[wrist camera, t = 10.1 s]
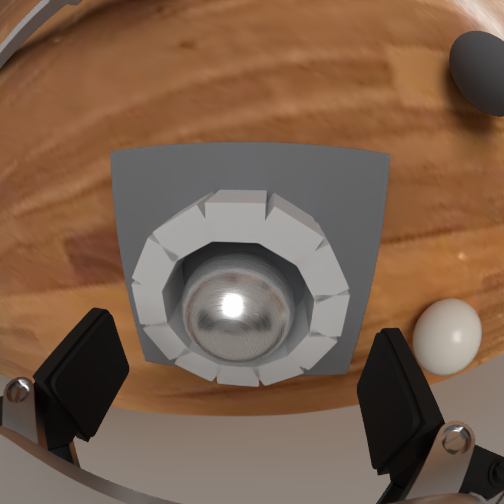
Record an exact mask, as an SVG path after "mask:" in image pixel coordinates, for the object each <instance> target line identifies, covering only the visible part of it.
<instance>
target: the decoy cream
mask: <svg viewBox="0 0 504 504" xmlns="http://www.w3.org/2000/svg"><path fill="white" fill-rule="evenodd" d="M481 338H482V327H481V322H480V319H479V316H478V314H477V312H476V311H475V310H474V308H473V307H472V306H471V305H469V304H468V303H467V302H465V301H463V300H460V299H456V298H447V299H442V300H439V301H437V302H435V303H433V304H432V305H430V306H429V307H428V308H427V309H426V310H425V311H424V312H423V313H422V314H421V316H420V317H419V319H418V321H417V323H416V325H415V328H414V332H413V341H412V343H413V350H414V354H415V357H416V359H417V361H418V362H419V364H420V365H421V366H422V367H423V368H424V369H425V370H427V371H428V372H430V373H432V374H435V375H440V376H446V375H452V374H455V373H457V372H459V371H461V370H462V369H464V368H465V367H466V366H467V365H469V364H470V362H471V361H472V360H473V359H474V357H475V355H476V354H477V352H478V350H479V347H480V344H481Z"/></svg>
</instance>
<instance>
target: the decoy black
mask: <svg viewBox="0 0 504 504" xmlns="http://www.w3.org/2000/svg"><path fill="white" fill-rule="evenodd" d="M449 63H450V70H451V74H452V77H453V79H454V82H455V84H456V86H457V87H458V89H459V91H460V92H461V93H462V95H463V96H464V97H465V98H466V99H467V100H468V101H469V102H470V103H471V104H472V105H473V106H474V107H476V108H477V109H479V110H480V111H482V112H484V113H487V114H489V115H493V116H499V117H501V116H504V41H502V40H501V39H500V38H498V37H496V36H494V35H492V34H490V33H487V32H483V31H470V32H467V33H464V34H462V35H461V36H459V37H458V38H457V39H456V40H455V42H454V44H453V45H452V48H451V51H450V58H449Z"/></svg>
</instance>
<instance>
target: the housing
mask: <svg viewBox="0 0 504 504" xmlns="http://www.w3.org/2000/svg"><path fill="white" fill-rule="evenodd" d="M110 156H111V175H112V189H113V200H114V210H115V219H116V227H117V234H118V241H119V247H120V254H121V260H122V265H123V271H124V276H125V281H126V286H127V291H128V295H129V300H130V304H131V308H132V313H133V317H134V321H135V325H136V328H137V332H138V336H139V339H140V343H141V347H142V350H143V353H144V357H145V360H146V361H148V362H153V363H159V364H165V365H171V366H178V367H182V368H184V369H186V370H188V371H190V372H192V373H194V374H196V375H198V376H200V377H202V378H204V379H206V380H209V381H211V382H212V381H213V380H214V378H215V377H216V376H217V383H218V384H228V385H240V386H256V387H259V379H260V381H261V382H262V383H263V384H264V385H265V386H266V385H270V384H273V383H276V382H279V381H282V380H285V379H288V378H291V377H294V376H297V375H340V374H347V371H348V368H349V365H350V362H351V359H352V356H353V353H354V349H355V346H356V343H357V340H358V336H359V333H360V329H361V325H362V322H363V318H364V314H365V310H366V306H367V302H368V298H369V294H370V290H371V285H372V281H373V276H374V271H375V266H376V261H377V256H378V250H379V245H380V239H381V233H382V226H383V219H384V212H385V204H386V195H387V186H388V175H389V162H390V154H387V153H380V152H374V151H367V150H359V149H351V148H342V147H332V146H322V145H309V144H293V143H270V142H212V143H189V144H173V145H161V146H150V147H140V148H132V149H124V150H116V151H110ZM230 251H246V252H251V253H255V254H257V255H260V256H262V257H264V258H266V259H268V260H269V261H271V262H272V263H273V264H275V265H276V266H277V267H278V268H279V269H280V270H281V271H282V273H283V274H284V275H285V277H286V278H287V280H288V282H289V284H290V286H291V288H292V292H293V296H294V302H295V313H294V319H293V323H292V326H291V329H290V331H289V333H288V335H287V337H286V338H285V340H284V341H283V342H282V344H281V345H280V346H279V347H278V348H277V349H276V350H275V351H273V352H272V353H271V354H269V355H267V356H266V357H264V358H262V359H259V360H257V361H253V362H249V363H242V364H235V363H227V362H223V361H220V360H217V359H215V358H212V357H211V356H209V355H207V354H206V353H204V352H203V351H202V350H201V349H200V348H198V347H197V346H196V344H195V343H194V342H193V341H192V340H191V338H190V336H189V335H188V333H187V331H186V329H185V326H184V323H183V319H182V314H181V300H182V295H183V291H184V288H185V285H186V283H187V281H188V279H189V278H190V276H191V275H192V273H193V272H194V271H195V270H196V269H197V268H198V266H200V265H201V264H202V263H203V262H205V261H206V260H208V259H209V258H211V257H213V256H215V255H218V254H221V253H225V252H230Z"/></svg>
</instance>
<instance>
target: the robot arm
mask: <svg viewBox="0 0 504 504" xmlns="http://www.w3.org/2000/svg"><path fill="white" fill-rule="evenodd" d="M128 373H129V364H128V361H127V359H126V356H125V353H124V350H123V347H122V344H121V341H120V338H119V335H118V332H117V329H116V326H115V322H114V319H113V316H112V315H111V314H110V313H109V311H108V310H106V309H100V308H92V309H91V310H90V311H89V312H88V313H87V314H86V315H85V316H84V318H83V319H82V320H81V321H80V322H79V323H78V324H77V325H76V326H75V327H74V328H73V329H72V331H71V332H70V333H69V334H68V335H67V336H66V337H65V338H64V340H63V341H62V342H61V343H60V344H59V345H58V346H57V348H56V349H55V350H54V351H53V352H52V353H51V355H50V356H49V357H48V358H47V359H46V360H45V362H44V363H43V364H42V365H41V366H40V368H39V369H38V370H37V371H36V373H35V374H34V375H33V378H34V380H35V383H34V384H33V383H32V381H31V380H30V379H28V378H26V377H17V378H15V379H13V380H12V381H10V382H9V383H8V384H7V385H6V388H5V389H4V394H3V396H1V397H0V504H180V503H175V502H171V501H168V500H164V499H160V498H156V497H153V496H150V495H147V494H143V493H140V492H137V491H134V490H132V489H129V488H126V487H123V486H121V485H118V484H115V483H112V482H110V481H108V480H105V479H103V478H101V477H98V476H96V475H94V474H92V473H90V472H87V471H85V470H83V469H81V468H80V464H79V460H78V457H77V453H76V450H75V446H74V442H73V439H74V437H75V436H76V437H77V438H79V439H82V440H84V441H86V442H88V441H89V439H90V437H93V436H94V435H95V434H96V432H97V430H98V428H99V426H100V424H101V423H102V421H103V419H104V417H105V415H106V413H107V411H108V409H109V407H110V406H111V404H112V402H113V400H114V398H115V397H116V395H117V393H118V391H119V389H120V388H121V386H122V384H123V382H124V380H125V379H126V377H127V375H128ZM357 395H358V399H359V404H360V408H361V413H362V417H363V422H364V427H365V432H366V436H367V441H368V447H369V452H370V458H371V463H372V467H373V468H374V469H377V473H378V475H383V474H388V473H389V474H390V480H391V482H390V484H389V485H388V487H387V488H386V490H385V492H384V493H383V494H382V496H381V497H380V499H379V500H378V502H377V503H376V504H504V457H502V456H500V455H498V454H495V453H493V452H491V451H488V450H486V449H484V448H482V447H479V446H477V445H475V436H474V433H473V431H472V429H471V428H470V427H469V426H468V425H467V424H465V423H463V422H460V421H450V422H448V423H445V422H444V419H443V417H442V414H441V412H440V410H439V407H438V405H437V403H436V400H435V398H434V396H433V394H432V391H431V389H430V387H429V385H428V383H427V380H426V378H425V376H424V374H423V372H422V370H421V368H420V366H419V365H418V364H417V362H416V360H415V358H414V356H413V354H412V352H411V350H410V348H409V346H408V344H407V342H406V340H405V338H404V336H403V334H402V333H401V331H400V329H399V328H383V329H382V330H381V332H380V333H377V334H376V336H375V339H374V342H373V345H372V347H371V350H370V353H369V356H368V359H367V361H366V364H365V367H364V369H363V372H362V374H361V377H360V379H359V382H358V385H357Z"/></svg>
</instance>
